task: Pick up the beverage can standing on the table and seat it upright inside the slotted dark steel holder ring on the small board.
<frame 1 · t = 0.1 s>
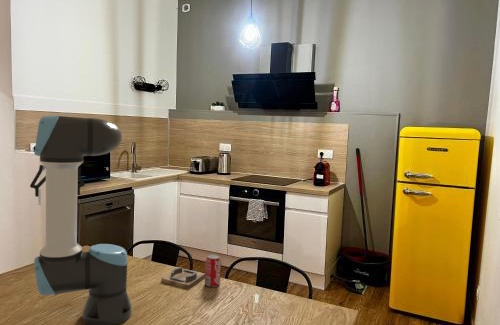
hand: (58, 203, 156), 28 cm above the table, fingers open, 13 cm apart
beverage can: (212, 285, 150), on the table
socket board: (183, 279, 154), on the table
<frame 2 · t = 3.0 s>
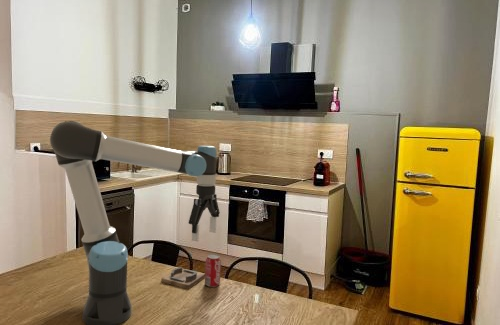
hand: (204, 236, 149), 20 cm above the table, fingers open, 13 cm apart
nothing on the table moved.
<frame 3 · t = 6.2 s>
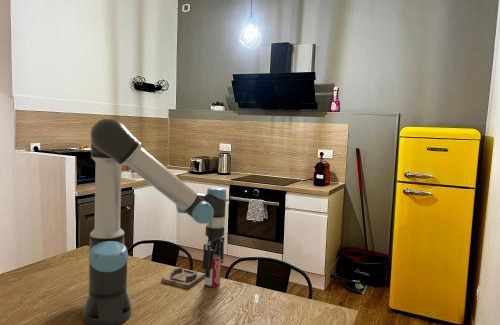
hand: (212, 281, 150), 1 cm above the table, fingers closed on beverage can, 6 cm apart
beverage can: (212, 285, 150), on the table, touching gripper
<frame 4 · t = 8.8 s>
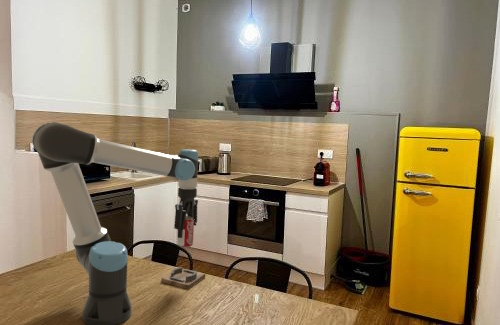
hand: (185, 242, 152), 16 cm above the table, fingers closed on beverage can, 6 cm apart
beverage can: (185, 246, 152), point 14 cm above the table, touching gripper
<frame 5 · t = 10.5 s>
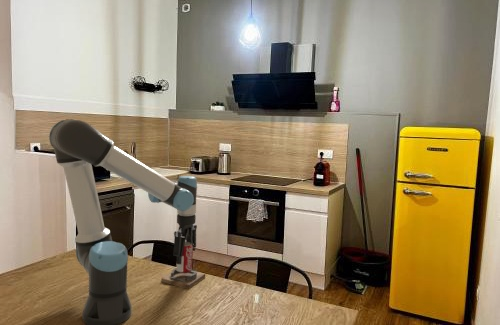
hand: (184, 268, 153), 5 cm above the table, fingers closed on beverage can, 6 cm apart
beverage can: (184, 272, 153), point 3 cm above the table, touching gripper
when the fingers open (3 cm above the table, at t = 11.6 s): beverage can stays where it is, resting on socket board.
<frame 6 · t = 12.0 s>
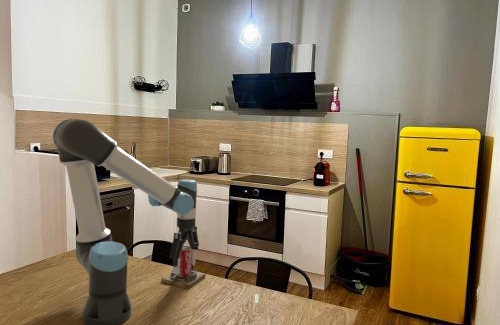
hand: (184, 268, 153), 5 cm above the table, fingers open, 11 cm apart
beverage can: (183, 276, 154), point 1 cm above the table, touching socket board
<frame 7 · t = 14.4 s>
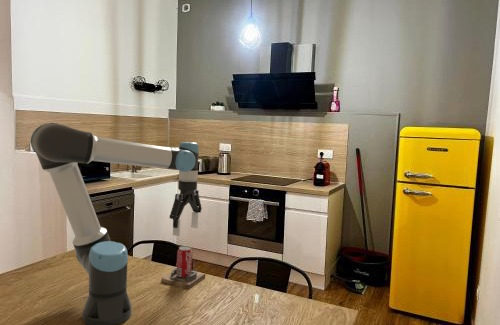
hand: (185, 231, 152), 21 cm above the table, fingers open, 13 cm apart
nothing on the table moved.
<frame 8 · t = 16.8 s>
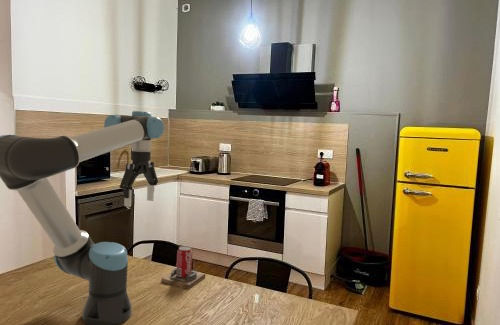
hand: (139, 203, 148), 32 cm above the table, fingers open, 13 cm apart
nothing on the table moved.
at the end: beverage can 0.0 cm from the socket board (horizontally); beverage can tilted 0°; the gripper is holding nothing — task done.
